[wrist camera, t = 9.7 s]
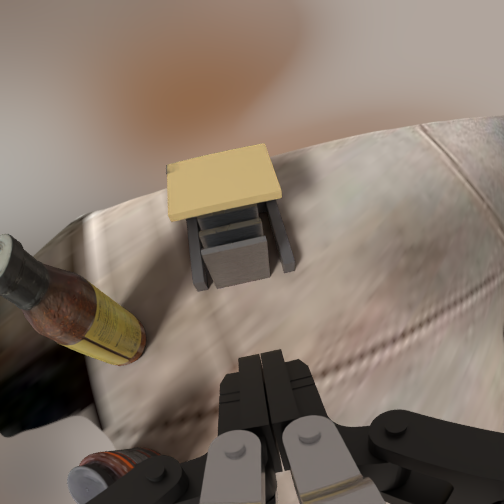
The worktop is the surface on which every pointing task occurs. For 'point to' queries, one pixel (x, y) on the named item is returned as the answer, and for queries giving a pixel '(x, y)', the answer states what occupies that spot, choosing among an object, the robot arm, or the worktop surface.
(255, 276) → the heatsink block
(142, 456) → the supplement bottle
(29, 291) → the sauce bottle
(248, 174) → the grey and yellow stand
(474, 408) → the worktop surface
